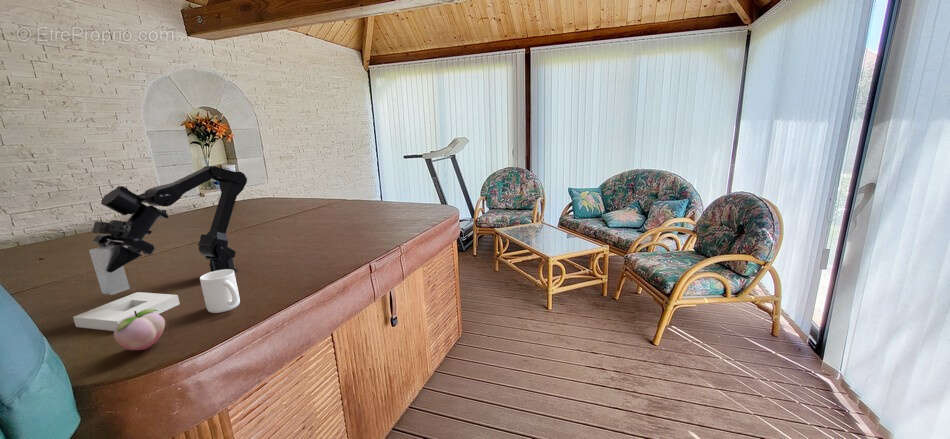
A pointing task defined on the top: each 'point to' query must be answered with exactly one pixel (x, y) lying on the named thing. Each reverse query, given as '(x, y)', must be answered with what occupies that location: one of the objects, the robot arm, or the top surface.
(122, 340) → the decorative fruit
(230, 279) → the mug
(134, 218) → the robot arm
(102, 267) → the grey square peg
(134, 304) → the socket plate
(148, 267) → the top surface
